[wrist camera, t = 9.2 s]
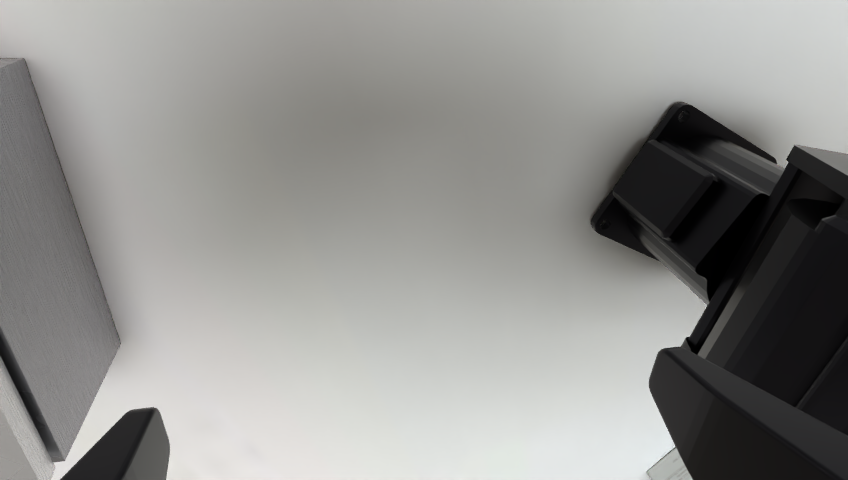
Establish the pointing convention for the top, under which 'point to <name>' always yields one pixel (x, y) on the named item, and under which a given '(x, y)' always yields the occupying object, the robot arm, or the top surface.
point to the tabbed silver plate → (19, 437)
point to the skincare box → (670, 468)
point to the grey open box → (46, 276)
